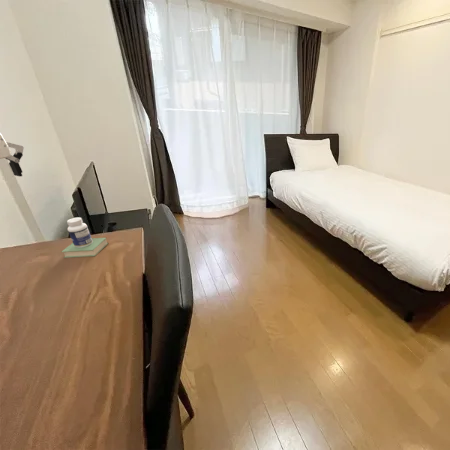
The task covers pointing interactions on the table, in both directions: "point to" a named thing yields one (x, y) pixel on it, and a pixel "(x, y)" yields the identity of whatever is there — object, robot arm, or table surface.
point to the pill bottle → (79, 233)
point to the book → (86, 249)
